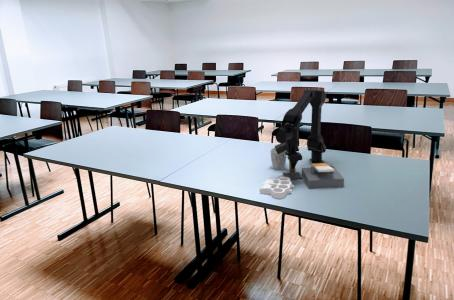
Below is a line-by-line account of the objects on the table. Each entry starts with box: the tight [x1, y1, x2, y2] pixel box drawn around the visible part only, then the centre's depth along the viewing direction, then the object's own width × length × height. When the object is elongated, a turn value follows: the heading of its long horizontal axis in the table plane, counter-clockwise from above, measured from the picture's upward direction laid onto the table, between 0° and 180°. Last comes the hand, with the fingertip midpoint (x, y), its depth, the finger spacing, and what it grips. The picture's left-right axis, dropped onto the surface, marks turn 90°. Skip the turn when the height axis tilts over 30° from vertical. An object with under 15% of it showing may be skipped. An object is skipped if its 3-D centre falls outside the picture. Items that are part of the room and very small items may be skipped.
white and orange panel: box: [310, 162, 334, 172], centre depth 164 cm, size 15×7×1 cm, turn 0°
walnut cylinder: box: [288, 160, 296, 172], centre depth 171 cm, size 3×3×9 cm
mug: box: [270, 147, 287, 170], centre depth 185 cm, size 11×8×10 cm
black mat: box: [282, 171, 303, 181], centre depth 173 cm, size 8×8×1 cm
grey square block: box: [301, 163, 345, 190], centre depth 165 cm, size 16×16×8 cm
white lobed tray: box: [259, 176, 295, 200], centre depth 159 cm, size 3×18×15 cm
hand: (292, 167), depth 172 cm, fingers closed on walnut cylinder, 3 cm apart
